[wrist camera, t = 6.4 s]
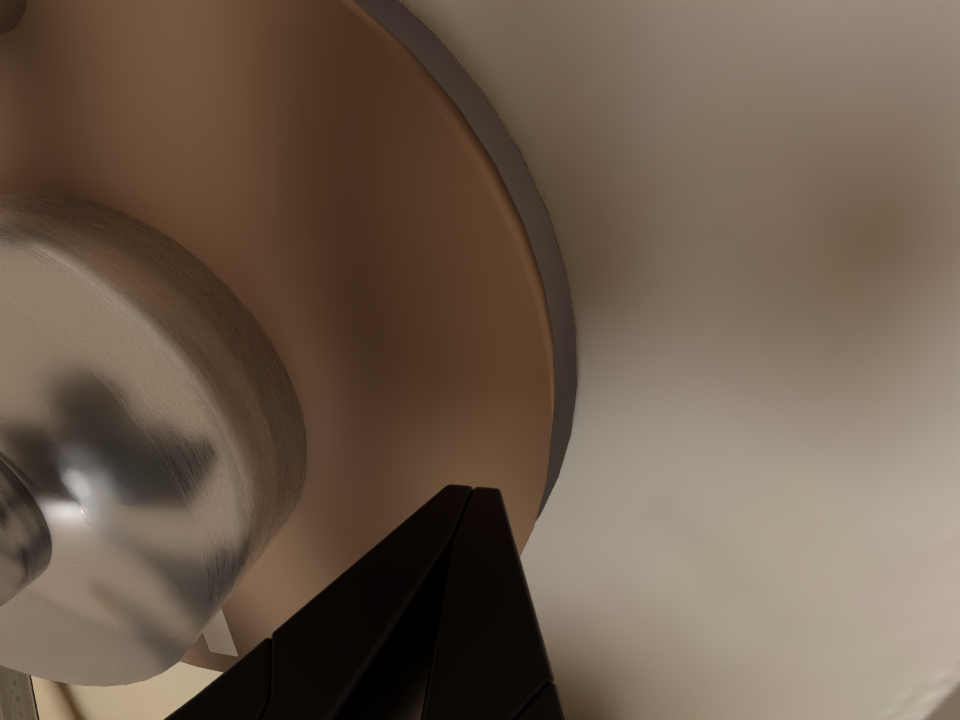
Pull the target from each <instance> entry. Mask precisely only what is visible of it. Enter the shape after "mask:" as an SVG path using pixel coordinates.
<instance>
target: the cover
mask: <svg viewBox="0 0 960 720" xmlns="http://www.w3.org/2000/svg"><path fill="white" fill-rule="evenodd" d="M306 470H307V440H306V433H305V426H304V420H303V416H302V412H301V409H300V405H299V402H298V398H297V395H296V392H295V390H294V387H293V385H292V382H291V380H290V378H289V375H288V373H287V370H286V368H285V366H284V364H283V362H282V360H281V359H280V357H279V355H278V353H277V351H276V350H275V348H274V346H273V344H272V342H271V340H270V339H269V338H268V336H267V335H266V333H265V332H264V330H263V329H262V328H261V326H260V325H259V323H258V322H257V320H256V319H255V317H254V316H253V315H252V313H251V312H250V311H249V310H248V309H247V307H246V306H245V305H244V304H243V303H242V301H241V300H240V299H239V298H238V297H237V296H236V294H235V293H234V292H233V291H232V290H231V289H230V288H229V287H228V286H227V285H226V284H225V283H224V282H223V281H222V280H221V279H220V278H219V277H218V276H217V275H216V274H215V273H214V272H213V271H212V270H211V269H210V268H209V267H208V266H207V265H206V264H204V263H203V262H202V261H201V260H199V259H198V258H197V257H195V256H194V255H193V254H192V253H190V252H189V251H188V250H187V249H185V248H184V247H183V246H181V245H180V244H179V243H178V242H176V241H174V240H173V239H171V238H170V237H168V236H167V235H165V234H163V233H162V232H160V231H159V230H157V229H155V228H154V227H152V226H151V225H149V224H147V223H145V222H143V221H141V220H139V219H137V218H135V217H133V216H131V215H129V214H127V213H125V212H123V211H121V210H118V209H115V208H113V207H110V206H107V205H104V204H101V203H98V202H95V201H93V200H90V199H85V198H80V197H75V196H71V195H66V194H61V193H44V192H26V193H15V194H3V195H0V665H2V666H4V667H7V668H10V669H13V670H16V671H19V672H22V673H25V674H29V675H32V676H35V677H40V678H44V679H48V680H52V681H56V682H62V683H69V684H76V685H85V686H115V685H127V684H131V683H135V682H139V681H144V680H147V679H149V678H152V677H154V676H156V675H159V674H161V673H163V672H165V671H166V670H168V669H169V668H170V667H172V666H173V665H175V664H176V663H178V662H179V661H180V659H181V658H182V657H183V656H184V655H185V654H186V653H187V652H188V650H189V649H190V648H191V647H192V646H193V644H194V643H195V642H196V640H197V639H198V638H199V636H200V635H201V634H202V633H203V631H204V630H205V629H206V627H207V626H208V625H209V623H210V622H211V621H212V620H213V618H214V617H215V616H216V614H217V613H218V612H219V610H220V609H221V608H222V607H223V605H224V604H225V603H226V601H227V600H228V599H229V597H230V596H231V595H232V593H233V592H234V591H235V590H236V588H237V587H238V586H239V584H240V583H241V582H242V580H243V579H244V578H245V577H246V575H247V574H248V573H249V571H250V570H251V569H252V567H253V566H254V565H255V563H256V562H257V561H258V560H259V558H260V557H261V556H262V554H263V553H264V552H265V550H266V549H267V548H268V547H269V545H270V544H271V543H272V541H273V540H274V539H275V537H276V536H277V535H278V534H279V532H280V531H281V530H282V528H283V527H284V526H285V524H286V523H287V522H288V520H289V519H290V517H291V515H292V513H293V512H294V510H295V508H296V507H297V505H298V502H299V499H300V496H301V493H302V490H303V487H304V482H305V476H306Z"/></svg>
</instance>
